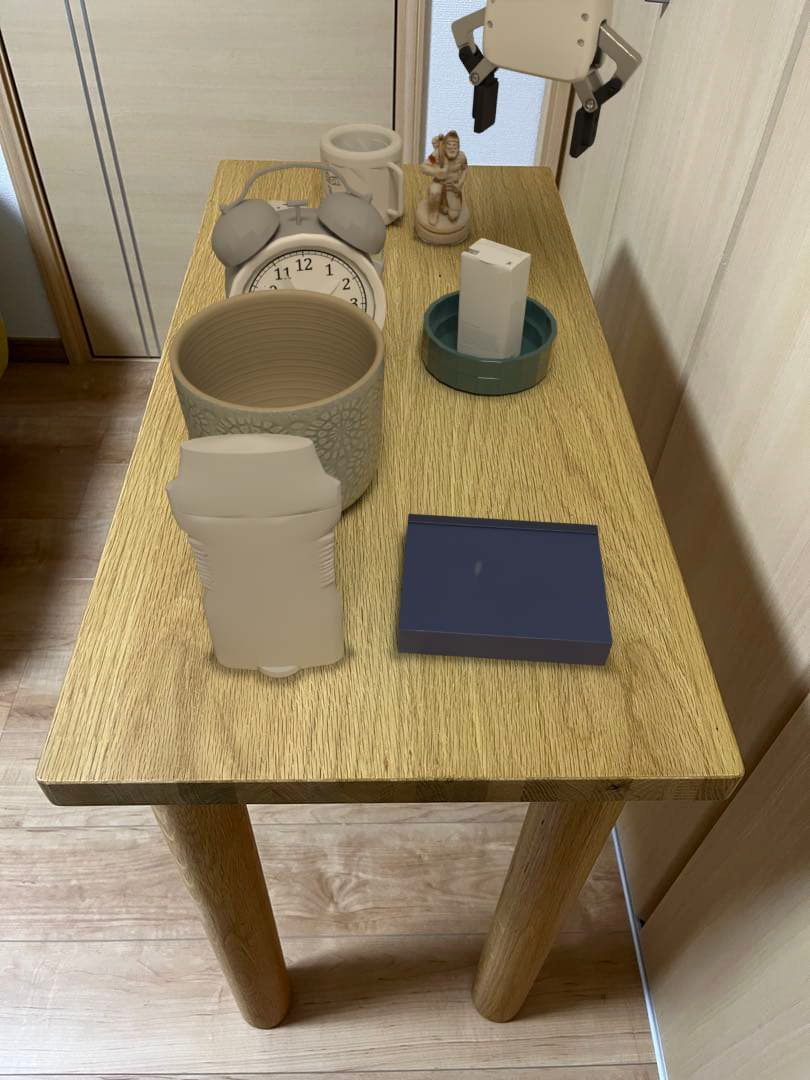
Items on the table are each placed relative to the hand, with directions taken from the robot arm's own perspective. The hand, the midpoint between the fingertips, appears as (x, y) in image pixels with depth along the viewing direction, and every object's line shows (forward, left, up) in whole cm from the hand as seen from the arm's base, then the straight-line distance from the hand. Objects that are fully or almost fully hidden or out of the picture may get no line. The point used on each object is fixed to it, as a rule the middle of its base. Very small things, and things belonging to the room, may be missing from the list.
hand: (530, 140), depth 76 cm
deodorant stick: (+18, +43, -22) cm, 52 cm away
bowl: (+2, +2, -22) cm, 23 cm away
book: (+1, +36, -22) cm, 43 cm away
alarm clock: (+21, +6, -22) cm, 31 cm away
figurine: (+8, -26, -22) cm, 35 cm away
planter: (+20, +24, -22) cm, 39 cm away
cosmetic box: (+2, +2, -22) cm, 22 cm away
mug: (+18, -30, -22) cm, 41 cm away
